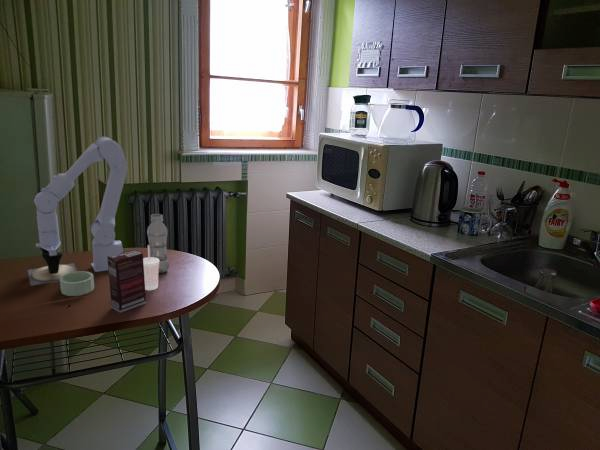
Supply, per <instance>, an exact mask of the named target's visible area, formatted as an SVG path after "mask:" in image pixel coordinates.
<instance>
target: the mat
mask: <svg viewBox="0 0 600 450" xmlns="http://www.w3.org/2000/svg"><path fill="white" fill-rule="evenodd" d="M64 265H68V266H71V267H73V269H74V272H76V271H78V269H77V268H76V264H75V263H74V262H73V263H72V262H71V263H66V264H64ZM37 269H39V268H31V269H27V275H28V279H29V285H30V287H33V286H38V285H44V284H45V285H46V284H52V283H57V282H60V280H55V281H39V280H35V279H34V278H33V276H32V273H33V272H34V271H35V270H37Z"/></svg>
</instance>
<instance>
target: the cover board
mask: <svg viewBox="0 0 600 450" xmlns="http://www.w3.org/2000/svg"><path fill="white" fill-rule="evenodd" d="M36 269H37V268H36ZM70 272H74V269H73V267H71V266H68V265H65V264H59V270H58V273H55V274H51V273H50V271H49V268H48V265H46V266H41V267H40V268H39V269H37V270H35V271H34V272H33V273H32V276H33V278H34V279H35V280H39V281H55V280H60V279H59V278H60V277H61V276H62V275H64V274H67V273H70Z"/></svg>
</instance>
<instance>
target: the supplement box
mask: <svg viewBox="0 0 600 450" xmlns="http://www.w3.org/2000/svg"><path fill="white" fill-rule="evenodd" d="M143 258H144V254H143V252H141V251H139V250H137V249H132V250H128V251H123V253H119V254H115V255H112V256H108V257H107V259H108V270H107V271H108V279H109V293H110V300H111V301H110V304H111V309H112V310H114V311H116V312H117V313H119V314H121V313H124V312H126V311H129V310H132V309H134V308H137V307H139V306H143V305H146V304H147V298H146V297H147V294H146V290H145V279H144V265H143Z"/></svg>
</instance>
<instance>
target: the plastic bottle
mask: <svg viewBox="0 0 600 450" xmlns="http://www.w3.org/2000/svg"><path fill="white" fill-rule="evenodd" d="M163 222H164V217H163V214H160V213H154V214H151V215H150V224H149V225H148V226H147V230H146V235H147V238H148V245H149V250H150V257H155V258H158V259H159V260H160V261H159V269H158V274H162V273H166V272H168V270H169V268H170V262H169V258H168V251H167V239H168V228H167V227H166V225H165V223H163Z"/></svg>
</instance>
